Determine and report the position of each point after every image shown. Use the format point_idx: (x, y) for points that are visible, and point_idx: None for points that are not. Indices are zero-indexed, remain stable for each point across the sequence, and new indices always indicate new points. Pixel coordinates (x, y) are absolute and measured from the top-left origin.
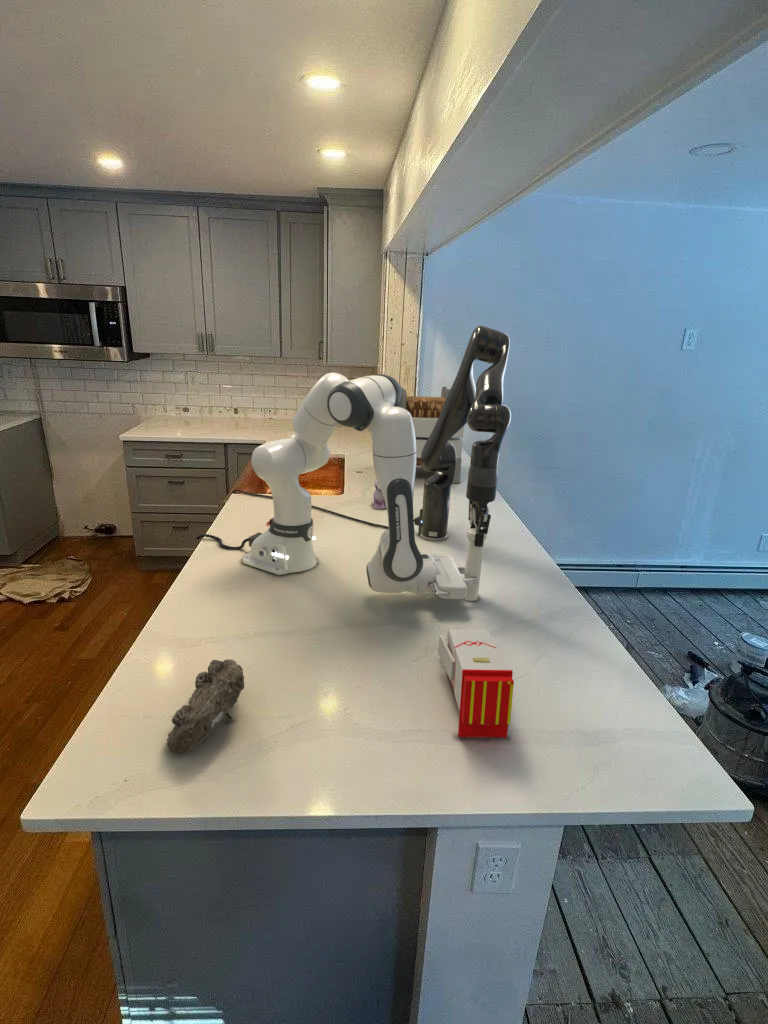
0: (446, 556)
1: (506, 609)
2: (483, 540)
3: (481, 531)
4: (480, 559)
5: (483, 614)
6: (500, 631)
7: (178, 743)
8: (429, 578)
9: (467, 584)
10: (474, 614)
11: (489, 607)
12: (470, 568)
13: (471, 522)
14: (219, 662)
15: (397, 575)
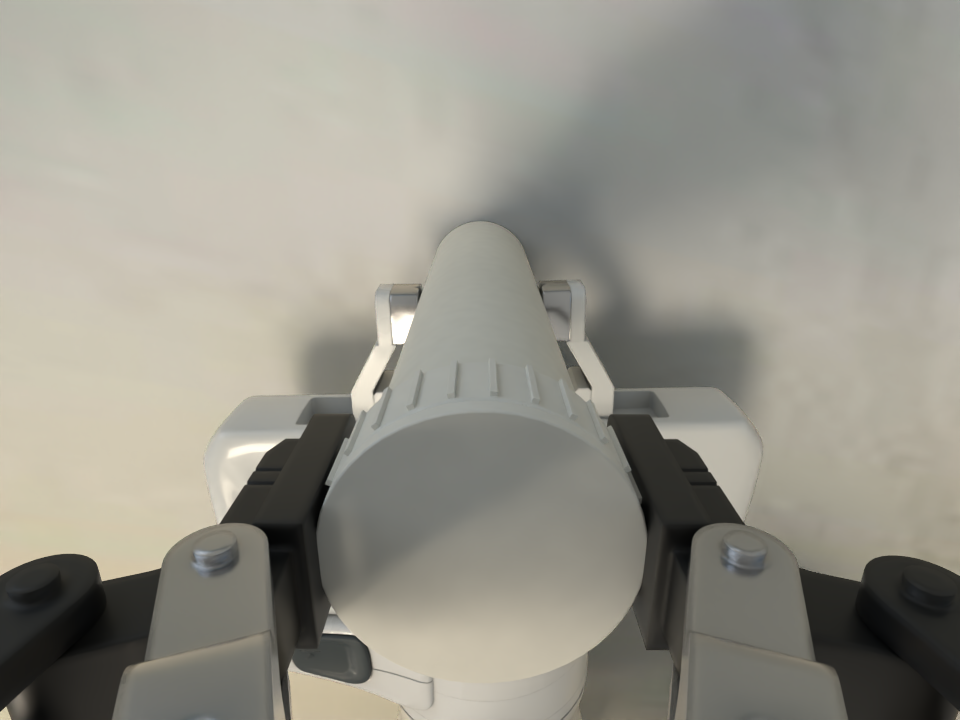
0: (234, 478)
1: (649, 60)
2: (602, 422)
3: (955, 717)
4: (548, 326)
5: (691, 235)
6: (891, 183)
7: None
8: None
9: (605, 369)
10: (684, 288)
11: (612, 174)
12: None
13: (288, 709)
14: None
15: None
